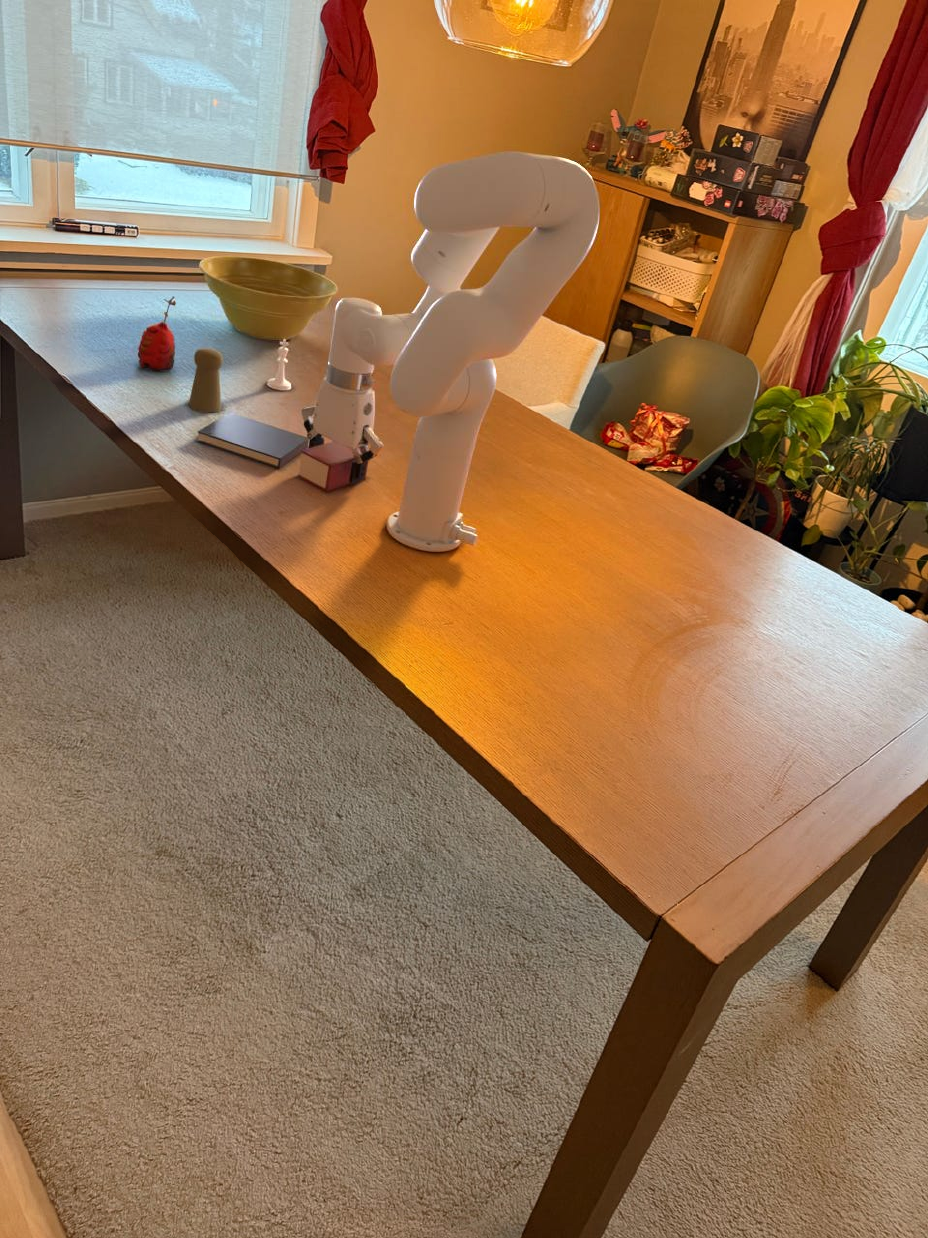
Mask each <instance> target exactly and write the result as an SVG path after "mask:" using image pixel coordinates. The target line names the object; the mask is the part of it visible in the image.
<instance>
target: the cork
mask: <svg viewBox="0 0 928 1238" xmlns="http://www.w3.org/2000/svg"><path fill="white" fill-rule="evenodd" d="M223 359H224V358H223V355H222V353H221V352H220V351H219V350H218V349H217V350H216V349H215V348H209V347H201V348H198V349H197V350H195V352H194V354H193V361H194V364H195V366H196V367H195V372H194V377H193V382H192V387H191V392H190V396H189V401H188V402H189V403H188V406H189V407H190V408H191V409H193V410H195V411H197V412H201V413H217V412H220V411H221V410H222V396H221V380H220V369H221V368H222V367H223V363H224V360H223Z"/></svg>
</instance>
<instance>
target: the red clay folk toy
mask: <svg viewBox="0 0 928 1238" xmlns="http://www.w3.org/2000/svg"><path fill="white" fill-rule="evenodd" d="M175 298H176V297H175V296H172V297H171V298H170V299H169V300H167V299H166V298H163V300H164V301H165V302H167V303H168V306H167V309H166V311H164V312H163V314H164V319H163V321H160V322H159V323H154V324H151V325H148V326H146V328H145V329H144V331H143V333H142V335H141V339H140V342H139V345H138V347H137V350H138V351H137V358H138V364H139V368H141V369H145V370H146V369H148V370H150V371H153V372H166V371H169V370H172V369H173V368H174V365H175V355H176V352H175V351H176V350H175V349H176V343H175V337H174V334H173V332H172V330H171V329H170V328H169V327H168V324H167V322H166V321H167V318H168V317H169V314H168V313H169V309H170V306H176V305H177V302H176V300H174V299H175Z"/></svg>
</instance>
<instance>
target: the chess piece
mask: <svg viewBox="0 0 928 1238" xmlns="http://www.w3.org/2000/svg"><path fill="white" fill-rule="evenodd" d="M279 345H281V346H280V347H278V353H279V354H278V355H279V357H277V360H276V362H279V365H278V368H277V372H276V376H274V378H269V379H268V380H267V384H266V385H267V386H268V387H269V388H272V389H274V390H277V391H289V390H291V389H292V383H291V382H290V381H288V380H286V378H285V364H286V363H288V359H287V358H286V357H287V355H288V353H289V349H288V347H286V346H289V342H287V340H286V339H283V340H282V341H279Z"/></svg>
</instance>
